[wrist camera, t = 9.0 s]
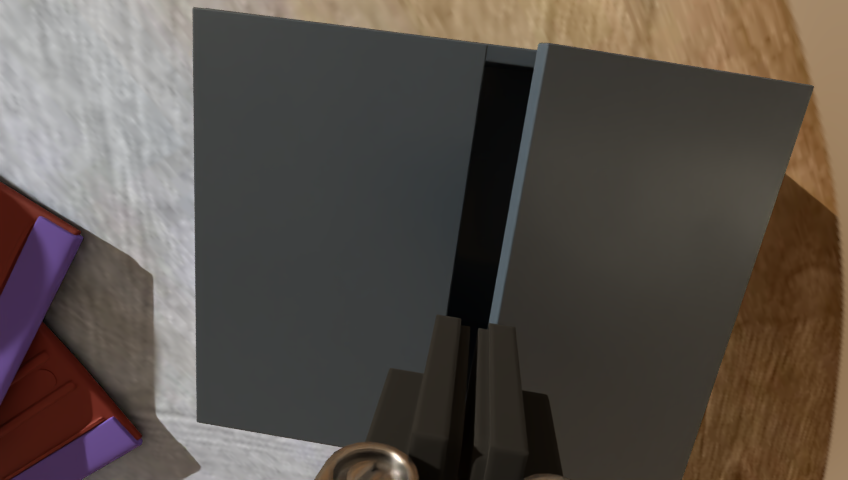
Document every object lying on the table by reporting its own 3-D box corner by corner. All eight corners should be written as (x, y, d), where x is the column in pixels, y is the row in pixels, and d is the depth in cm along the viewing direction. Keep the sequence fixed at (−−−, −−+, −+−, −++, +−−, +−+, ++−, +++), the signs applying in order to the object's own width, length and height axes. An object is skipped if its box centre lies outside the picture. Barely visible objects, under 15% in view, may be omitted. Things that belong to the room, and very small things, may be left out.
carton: (670, 78, 25) (815, 83, 14) (602, 346, 29) (672, 506, 18) (310, 32, 26) (189, 4, 15) (296, 297, 30) (194, 423, 19)
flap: (800, 84, 14) (815, 85, 14) (665, 496, 19) (673, 505, 18) (537, 42, 11) (548, 42, 11) (447, 551, 16) (453, 563, 15)
